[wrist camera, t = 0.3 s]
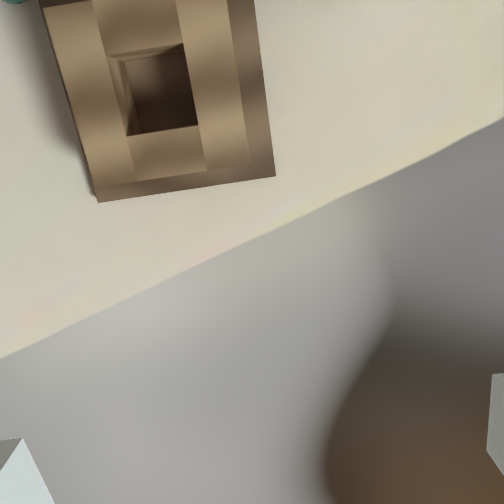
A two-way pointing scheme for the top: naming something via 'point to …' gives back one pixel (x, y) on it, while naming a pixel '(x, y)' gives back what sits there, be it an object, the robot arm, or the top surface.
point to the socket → (163, 92)
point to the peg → (14, 1)
